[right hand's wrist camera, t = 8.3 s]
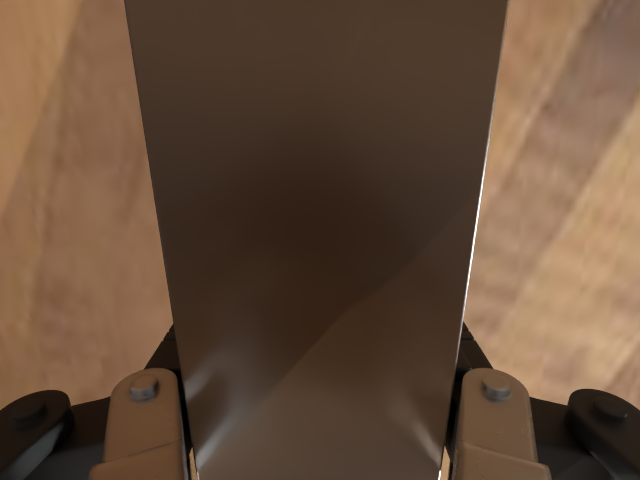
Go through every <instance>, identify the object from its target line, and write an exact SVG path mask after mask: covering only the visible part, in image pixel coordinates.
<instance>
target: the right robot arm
mask: <svg viewBox="0 0 640 480" xmlns="http://www.w3.org/2000/svg"><path fill="white" fill-rule="evenodd" d="M445 447H446V450H447V453H448V455H449V458H450V463H449V470H448V480H640V410H638V409H637V408H636V407H634V406H633V405H632V404H630V403H629V402H627V401H625V400H624V399H621V398H619V397H617V396H615V395H613V394H610V393H607V392H604V391H600V390H595V389H580V390H576V391H574V392H573V393H572V394H571V395H570V398H569V401H568V405H562V404H558V403H553V402H549V401H544V400H540V399H536V398H532V397H529V393H528V391H527V389H526V388H525V387H524V385H523V384H522V383H521V382H520V381H518V380H517V379H516V378H514V377H512V376H511V375H509V374H507V373H504V372H502V371H499V370H495V369H493V367H492V366H491V364H490V363H489V361H488V359H487V358H486V356H485V355H484V353H483V352H482V350H481V348H480V347H479V345H478V344H477V342H476V341H474V337H473V336H472V334H471V333H470V332H469V331H468V328H467V326H466V325H465V323H464V322H463V324H462V330H461V337H460V344H459V351H458V358H457V364H456V371H455V378H454V385H453V392H452V398H451V405H450V412H449V419H448V425H447V432H446V439H445ZM191 448H192V441H191V434H190V428H189V421H188V414H187V408H186V401H185V395H184V388H183V382H182V375H181V369H180V362H179V356H178V349H177V343H176V336H175V330H174V323H173V325H172V326H171V328H170V329H169V332H168V333H167V334H166V336H165V337H164V340H163V341H162V342H161V343H160V345H159V347H158V348H157V350H156V351H155V353H154V354H153V356H152V357H151V359H150V361H149V362H148V364H147V365H146V367H145V368H144V370H141V371H138V372H136V373H133V374H131V375H129V376H128V377H126V378H124V379H123V380H122V381H120V382H119V383H118V384H117V385H116V387H115V388H114V389H113V391H112V393H111V396H110V397H107V398H104V399H100V400H96V401H91V402H87V403H82V404H78V405H74V406H71V404H70V400H69V397H68V395H67V394H66V393H64V392H62V391H58V390H45V391H39V392H35V393H32V394H29V395H26V396H24V397H21V398H19V399H17V400H15V401H14V402H12V403H10V404H9V405H7V406H6V407H4V408H3V409H2V410H0V480H193V479H192V470H191V463H190V457H189V454H190V451H191Z"/></svg>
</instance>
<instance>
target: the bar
mask: <svg viewBox="0 0 640 480" xmlns="http://www.w3.org/2000/svg"><path fill="white" fill-rule="evenodd" d="M124 3H125V10H126V16H127V23H128V29H129V36H130V42H131V49H132V55H133V62H134V68H135V75H136V81H137V88H138V95H139V101H140V108H141V114H142V121H143V127H144V134H145V140H146V147H147V153H148V160H149V166H150V173H151V179H152V186H153V192H154V199H155V206H156V212H157V219H158V225H159V232H160V238H161V245H162V251H163V258H164V264H165V271H166V277H167V284H168V290H169V297H170V303H171V310H172V317H173V323H174V330H175V336H176V343H177V349H178V356H179V362H180V369H181V375H182V382H183V388H184V395H185V401H186V408H187V414H188V421H189V428H190V434H191V441H192V447H193V454H194V460H195V467H196V473H197V480H440V473H441V466H442V459H443V453H444V446H445V439H446V432H447V425H448V419H449V412H450V405H451V398H452V392H453V385H454V378H455V371H456V364H457V358H458V351H459V344H460V337H461V330H462V324H463V317H464V310H465V303H466V296H467V290H468V283H469V276H470V269H471V262H472V256H473V249H474V242H475V235H476V229H477V222H478V215H479V208H480V201H481V195H482V188H483V181H484V174H485V167H486V161H487V154H488V147H489V140H490V133H491V127H492V120H493V113H494V106H495V100H496V93H497V86H498V79H499V72H500V66H501V59H502V52H503V45H504V38H505V32H506V25H507V18H508V11H509V4H510V0H124Z"/></svg>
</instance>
